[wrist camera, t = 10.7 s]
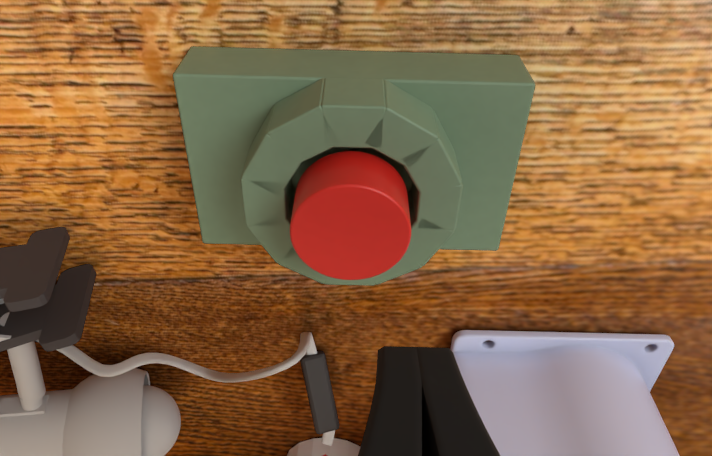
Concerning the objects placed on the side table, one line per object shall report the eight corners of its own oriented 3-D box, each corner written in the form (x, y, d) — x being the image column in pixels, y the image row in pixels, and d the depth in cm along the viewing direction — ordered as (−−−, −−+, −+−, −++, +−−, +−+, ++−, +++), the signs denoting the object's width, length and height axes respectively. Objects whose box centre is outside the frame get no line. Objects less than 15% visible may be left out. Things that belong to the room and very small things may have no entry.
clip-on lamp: (342, 215, 25) (-152, 221, 20) (380, 312, 20) (-271, 348, 15) (318, 400, 31) (-65, 436, 26) (341, 511, 26) (-129, 579, 21)
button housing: (215, 207, 21) (189, 282, 18) (190, 43, 17) (151, 100, 14) (487, 214, 21) (509, 289, 18) (519, 52, 17) (554, 111, 14)
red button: (297, 240, 17) (292, 280, 16) (293, 148, 15) (286, 183, 14) (403, 243, 17) (406, 282, 16) (412, 151, 15) (416, 186, 14)
